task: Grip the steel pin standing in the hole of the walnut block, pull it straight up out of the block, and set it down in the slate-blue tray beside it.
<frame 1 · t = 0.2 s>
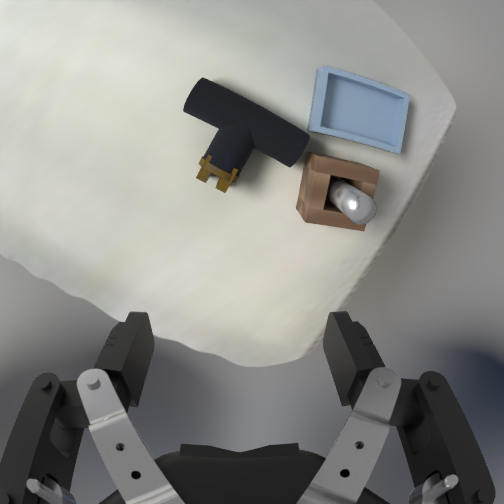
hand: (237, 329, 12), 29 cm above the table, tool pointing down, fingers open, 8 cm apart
pin block: (329, 185, 38), on the table
tray: (356, 110, 34), on the table
pipe connector: (234, 142, 36), on the table
pin: (343, 195, 33), in the pin block
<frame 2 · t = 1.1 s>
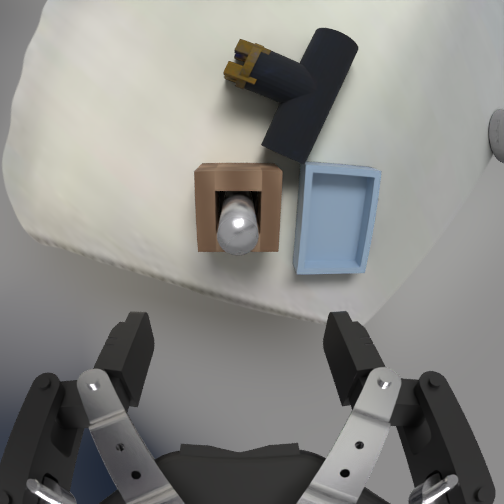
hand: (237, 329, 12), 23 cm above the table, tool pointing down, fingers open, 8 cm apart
pin block: (238, 197, 33), on the table
tray: (332, 215, 34), on the table
pipe connector: (279, 83, 28), on the table
pin: (238, 212, 27), in the pin block
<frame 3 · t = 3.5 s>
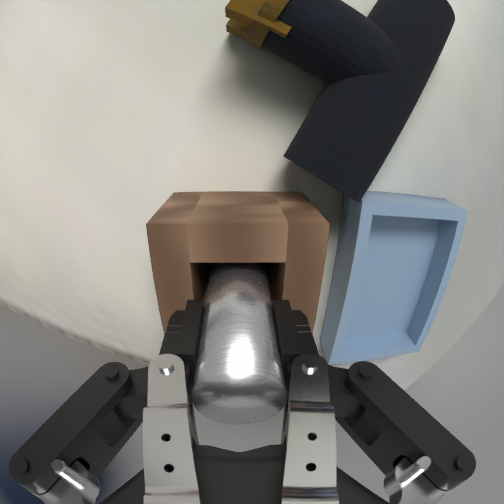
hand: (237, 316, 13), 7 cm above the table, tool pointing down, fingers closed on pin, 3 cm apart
pin block: (237, 250, 19), on the table
tray: (384, 273, 21), on the table
pipe connector: (322, 53, 14), on the table
pin: (238, 302, 14), in the pin block, touching gripper
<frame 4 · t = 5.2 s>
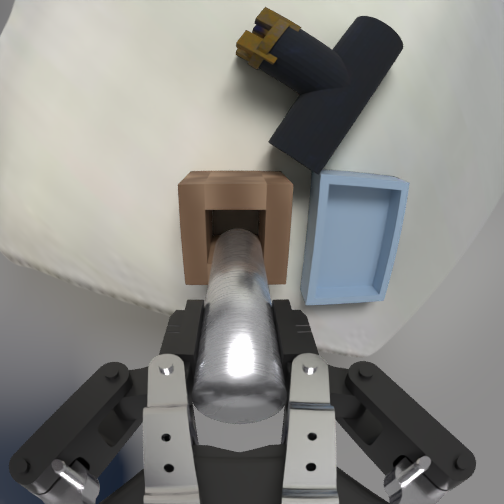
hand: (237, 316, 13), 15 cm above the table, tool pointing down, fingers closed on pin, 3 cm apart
pin block: (235, 213, 27), on the table
tray: (348, 234, 28), on the table
pipe connector: (301, 72, 22), on the table
pin: (238, 301, 14), point 14 cm above the table, touching gripper
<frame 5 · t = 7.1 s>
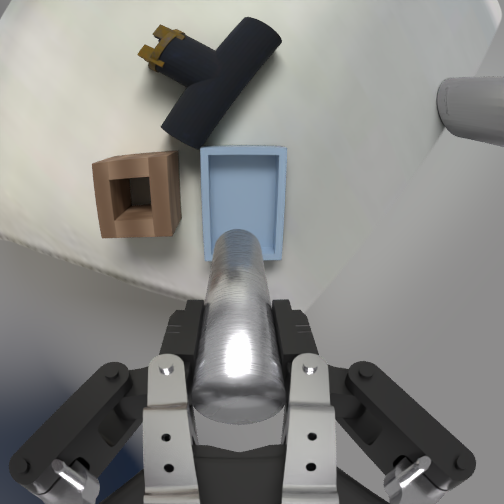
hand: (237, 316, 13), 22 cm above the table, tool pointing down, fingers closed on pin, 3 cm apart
pin block: (146, 186, 32), on the table
tray: (242, 199, 33), on the table
pipe connector: (198, 70, 27), on the table
pin: (237, 302, 14), point 21 cm above the table, touching gripper
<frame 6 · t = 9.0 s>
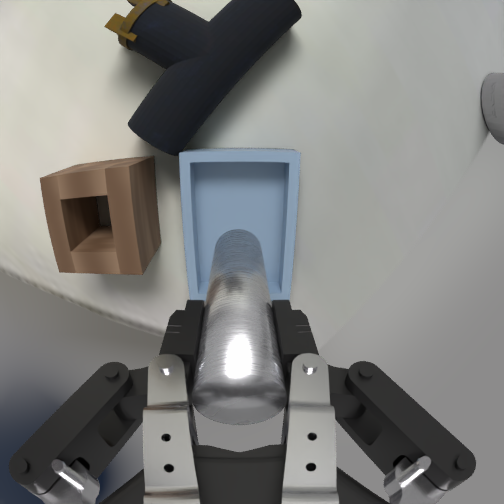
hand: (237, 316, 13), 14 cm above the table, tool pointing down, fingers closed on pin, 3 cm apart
pin block: (116, 203, 24), on the table
tray: (239, 221, 25), on the table
pipe connector: (187, 49, 19), on the table
pin: (238, 302, 14), point 12 cm above the table, touching gripper
when the fingers open (10 cm above the table, at t = 10.5 s): pin drops 1 cm, resting on tray.
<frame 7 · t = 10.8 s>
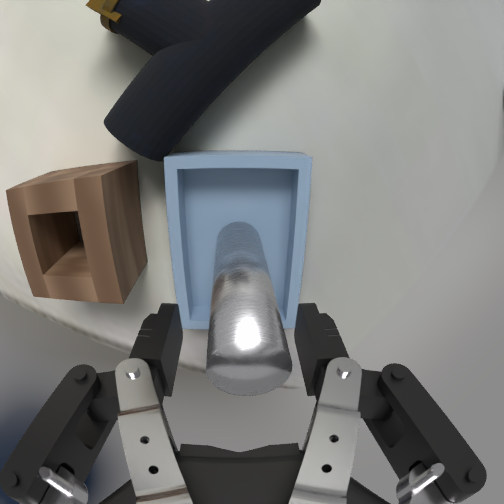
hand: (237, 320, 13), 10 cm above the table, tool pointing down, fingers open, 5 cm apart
pin block: (95, 215, 20), on the table
tray: (237, 237, 22), on the table
pipe connector: (181, 35, 15), on the table
pin: (242, 286, 15), in the tray, point 7 cm above the table
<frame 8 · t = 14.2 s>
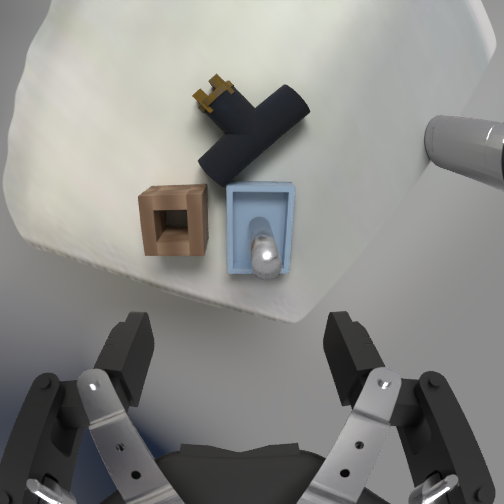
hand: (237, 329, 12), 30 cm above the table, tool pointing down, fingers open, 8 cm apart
pin block: (179, 212, 41), on the table
tray: (258, 224, 42), on the table
pipe connector: (236, 117, 36), on the table
pin: (262, 243, 36), in the tray, point 7 cm above the table
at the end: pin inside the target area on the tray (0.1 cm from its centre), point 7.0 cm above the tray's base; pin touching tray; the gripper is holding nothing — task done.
